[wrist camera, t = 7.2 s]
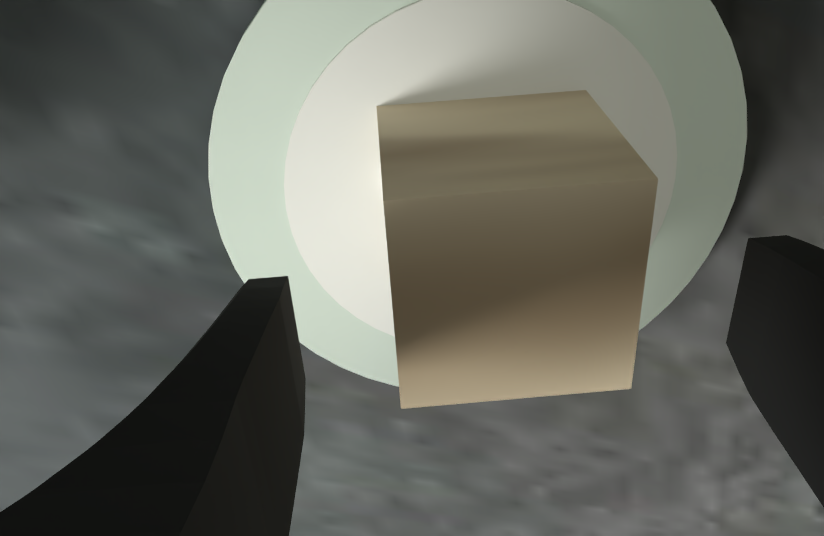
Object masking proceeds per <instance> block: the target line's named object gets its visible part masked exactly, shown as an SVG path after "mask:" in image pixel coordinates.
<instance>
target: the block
mask: <svg viewBox="0 0 824 536" xmlns="http://www.w3.org/2000/svg"><path fill="white" fill-rule="evenodd" d="M376 107H377V121H378V135H379V149H380V163H381V177H382V191H383V205H384V216H385V228H386V240H387V251H388V263H389V274H390V286H391V298H392V309H393V321H394V333H395V344H396V356H397V367H398V379H399V391H400V402H401V409H404V408H415V407H427V406H438V405H450V404H461V403H473V402H484V401H496V400H507V399H519V398H530V397H542V396H553V395H565V394H576V393H588V392H599V391H611V390H622V389H631V385H632V377H633V369H634V361H635V354H636V346H637V338H638V331H639V323H640V315H641V308H642V300H643V292H644V285H645V277H646V269H647V262H648V254H649V246H650V239H651V231H652V223H653V216H654V208H655V200H656V193H657V185H658V178H657V177H656V175H655V174H654V173H653V172H652V170H651V169H650V168H649V167H648V166H647V164H646V163H645V162H644V161H643V159H642V158H641V157H640V156H639V154H638V153H637V152H636V151H635V150H634V148H633V147H632V146H631V145H630V143H629V142H628V141H627V140H626V139H625V137H624V136H623V135H622V134H621V132H620V131H619V130H618V129H617V127H616V126H615V125H614V124H613V123H612V121H611V120H610V119H609V118H608V116H607V115H606V114H605V113H604V111H603V110H602V109H601V108H600V107H599V105H598V104H597V103H596V102H595V100H594V99H593V98H592V97H591V96H590V94H589V93H588V92H587V91H586V90H579V91H566V92H553V93H540V94H527V95H514V96H501V97H488V98H475V99H462V100H449V101H436V102H423V103H410V104H397V105H384V106H376Z"/></svg>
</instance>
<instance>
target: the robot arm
mask: <svg viewBox="0 0 824 536" xmlns="http://www.w3.org/2000/svg"><path fill="white" fill-rule="evenodd" d="M726 344H727V346H728V348H729V351H730V353H731V355H732V357H733V360H734V362H735V364H736V367H737V369H738V371H739V373H740V375H741V377H742V379H743V381H744V384H745V386H746V388H747V390H748V392H749V394H750V396H751V397H752V399H753V401H754V402H755V404H756V405H757V407H758V409H759V410H760V412H761V413H762V415H763V416H764V418H765V419H766V421H767V422H768V424H769V426H770V427H771V429H772V430H773V432H774V433H775V435H776V436H777V438H778V439H779V441H780V442H781V444H782V445H783V447H784V448H785V450H786V451H787V453H788V454H789V456H790V457H791V459H792V460H793V462H794V463H795V465H796V466H797V468H798V469H799V471H800V472H801V474H802V475H803V477H804V478H805V480H806V481H807V483H808V484H809V486H810V487H811V489H812V490H813V492H814V493H815V495H816V496H817V498H818V499H819V501H820V502H821V504H822V505H823V507H824V249H821V248H819V247H817V246H814V245H812V244H809V243H807V242H804V241H802V240H799V239H796V238H793V237H790V236H787V235H785V236H772V237H760V238H748V242H747V246H746V251H745V256H744V261H743V265H742V270H741V275H740V280H739V284H738V289H737V294H736V299H735V303H734V308H733V313H732V318H731V322H730V327H729V332H728V337H727V341H726ZM304 420H305V373H304V367H303V362H302V356H301V350H300V344H299V338H298V332H297V326H296V320H295V314H294V308H293V302H292V297H291V291H290V285H289V279H288V276H280V277H268V278H256V279H248V280H247V281H246V283H245V284H244V285H243V286H242V287H241V288H240V290H239V291H238V292H237V293H236V295H235V296H234V297H233V298H232V300H231V301H230V302H229V304H228V305H227V306H226V307H225V309H224V310H223V311H222V313H221V314H220V315H219V316H218V318H217V319H216V320H215V321H214V323H213V324H212V325H211V326H210V328H209V329H208V330H207V331H206V333H205V334H204V335H203V336H202V337H201V338H200V340H199V341H198V342H197V343H196V344H195V346H194V347H193V348H192V349H191V350H190V351H189V353H188V354H187V355H186V356H185V357H184V359H183V360H182V361H181V362H180V363H179V364H178V365H177V366H176V367H175V369H174V370H173V371H172V372H171V373H170V374H169V375H168V376H167V377H166V378H165V379H164V380H163V381H162V382H161V383H160V384H159V385H158V386H157V388H156V389H155V390H154V391H153V392H152V393H151V394H150V395H149V396H148V397H147V398H146V399H145V400H144V401H143V402H142V403H141V404H140V405H139V406H138V407H136V408H135V409H134V410H133V411H132V412H131V413H130V414H129V415H128V416H127V417H126V418H125V419H123V420H122V421H121V422H120V423H119V424H118V425H116V426H115V427H114V428H113V429H112V430H111V431H109V432H108V433H107V434H106V435H105V436H104V437H103V438H101V439H100V440H99V441H98V442H97V443H95V444H94V445H93V446H92V447H90V448H89V449H88V450H87V451H85V452H84V453H83V454H81V455H80V456H79V457H77V458H76V459H75V460H73V461H72V462H71V463H69V464H68V465H67V466H65V467H64V468H63V469H61V470H60V471H58V472H57V473H56V474H54V475H53V476H52V477H50V478H49V479H48V480H46V481H45V482H44V483H42V484H41V485H40V486H38V487H37V488H36V489H34V490H33V491H31V492H30V493H29V494H27V495H26V496H24V497H23V498H21V499H20V500H18V501H17V502H15V503H14V504H12V505H11V506H9V507H8V508H6V509H5V510H3V511H2V512H0V536H289V531H290V524H291V518H292V511H293V505H294V498H295V492H296V486H297V479H298V472H299V466H300V459H301V452H302V445H303V438H304Z"/></svg>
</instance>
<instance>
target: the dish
mask: <svg viewBox="0 0 824 536" xmlns="http://www.w3.org/2000/svg"><path fill="white" fill-rule="evenodd" d="M579 90H586V91H587V92H588V93H589V94H590V96H591V97H592V98H593V99H594V100H595V102H596V103H597V104H598V105H599V107H600V108H601V109H602V110H603V111H604V113H605V114H606V115H607V116H608V118H609V119H610V120H611V121H612V123H613V124H614V125H615V126H616V127H617V129H618V130H619V131H620V132H621V134H622V135H623V136H624V137H625V139H626V140H627V141H628V142H629V143H630V145H631V146H632V147H633V148H634V150H635V151H636V152H637V153H638V154H639V156H640V157H641V158H642V159H643V161H644V162H645V163H646V164H647V166H648V167H649V168H650V169H651V170H652V172H653V173H654V174H655V175H656V177H657V178H658V185H657V193H656V200H655V208H654V216H653V223H652V231H651V239H650V246H649V254H648V262H647V269H646V277H645V285H644V292H643V300H642V308H641V315H640V323H639V330H640V329H642V328H643V327H645V326H646V325H647V324H648V323H649V322H650V321H652V320H653V319H654V318H655V317H656V316H657V315H658V314H659V313H660V312H662V311H663V310H664V309H665V308H666V307H667V306H668V305H669V304H670V303H671V302H672V301H673V300H674V299H675V298H676V296H677V295H678V294H679V293H680V292H681V291H682V290H683V289H684V288H685V286H686V285H687V284H688V283H689V282H690V281H691V279H692V278H693V276H694V275H695V274H696V272H697V271H698V269H699V268H700V267H701V265H702V264H703V262H704V261H705V260H706V258H707V257H708V255H709V253H710V251H711V250H712V248H713V246H714V244H715V242H716V241H717V239H718V237H719V235H720V233H721V232H722V230H723V228H724V225H725V223H726V220H727V218H728V215H729V213H730V210H731V208H732V205H733V203H734V201H735V197H736V193H737V190H738V186H739V182H740V178H741V175H742V171H743V165H744V157H745V149H746V141H747V103H746V97H745V90H744V84H743V78H742V72H741V68H740V65H739V62H738V59H737V56H736V53H735V50H734V46H733V43H732V40H731V38H730V36H729V34H728V32H727V30H726V28H725V26H724V24H723V22H722V20H721V18H720V16H719V14H718V12H717V10H716V8H715V6H714V5H713V4H712V2H711V1H710V0H265V1H264V2H263V4H262V5H261V7H260V8H259V10H258V11H257V13H256V14H255V16H254V17H253V19H252V20H251V22H250V24H249V25H248V27H247V28H246V30H245V32H244V34H243V36H242V39H241V41H240V43H239V45H238V47H237V49H236V51H235V53H234V56H233V58H232V60H231V62H230V64H229V66H228V68H227V71H226V73H225V75H224V78H223V81H222V84H221V88H220V91H219V94H218V98H217V101H216V104H215V108H214V112H213V118H212V125H211V132H210V139H209V185H210V191H211V198H212V205H213V211H214V215H215V218H216V221H217V225H218V228H219V231H220V235H221V238H222V241H223V243H224V246H225V248H226V250H227V252H228V254H229V257H230V259H231V261H232V263H233V265H234V267H235V269H236V271H237V273H238V274H239V276H240V277H241V279H242V280H243V282H244V284H245V283H246V281H247V280H248V279H256V278H268V277H280V276H288V279H289V285H290V291H291V297H292V302H293V308H294V314H295V320H296V326H297V332H298V338H299V342H300V343H302V344H303V345H304V346H306V347H307V348H309V349H310V350H312V351H313V352H314V353H316V354H318V355H319V356H321V357H323V358H325V359H327V360H329V361H330V362H332V363H334V364H336V365H338V366H340V367H342V368H344V369H347V370H349V371H351V372H354V373H356V374H359V375H361V376H364V377H366V378H369V379H373V380H376V381H380V382H383V383H387V384H390V385H394V386H399V379H398V367H397V356H396V344H395V333H394V321H393V309H392V298H391V286H390V274H389V263H388V251H387V240H386V228H385V216H384V205H383V191H382V177H381V163H380V149H379V135H378V121H377V107H376V106H384V105H397V104H410V103H423V102H436V101H449V100H462V99H475V98H488V97H501V96H514V95H527V94H540V93H553V92H566V91H579Z"/></svg>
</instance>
